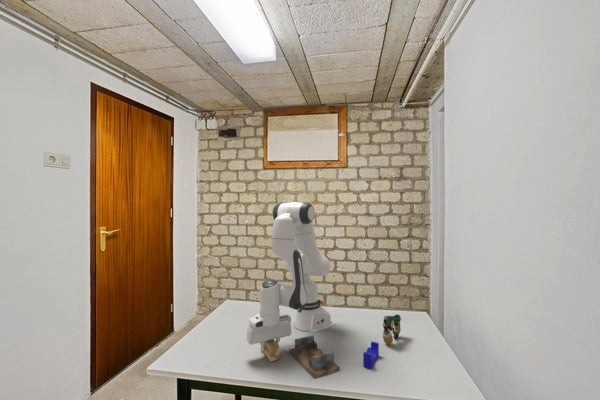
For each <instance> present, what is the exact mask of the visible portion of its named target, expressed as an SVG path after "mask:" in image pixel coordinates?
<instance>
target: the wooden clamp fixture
mask: <svg viewBox="0 0 600 400" xmlns="http://www.w3.org/2000/svg"><path fill="white" fill-rule="evenodd" d="M318 346H319V345H318V342H316V341H315V335H314V334H313V335H307V336H304V337H300V338H296V339H294V347H292V348H289V354H291V355H292V356H293V358H295V360H296V361H297V362H298V363H299V364H300V365H301V367H303V369H305V371H306V372H307V373H308V374H309V375H310V376H311V377H312V378H313V379H316V378H320V377H323V376H326V375H329V374H332V373H336V372H339V371H340V369H341V368H340V367H341V366H339V365H338V364H337V363H336V362H335V357H334V356H335V353H334V351H329V352H324V351H323V350H321V349H320V348H319V347H318Z"/></svg>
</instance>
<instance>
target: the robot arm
mask: <svg viewBox="0 0 600 400" xmlns="http://www.w3.org/2000/svg"><path fill="white" fill-rule="evenodd" d="M274 205H275V206H274V207H273V209H272V217H273V218H272V219H273V221H274V222H273V224H272V225H273V226H272V231H271V242H270V243H271V244H270V245H271V250H272V252H273V254H274V255H276V256H277V258H279V259H281V260H283V261H285V267H286V268H287V271H289V272H290V273H291V278H292V285H289V284H285V283H279V282H278V281H277V280H275V279H268V280H264V281H263V282H262V283H261V286H260V289H259V306H260V308H259V313H257V314H255V315H253V316H251V317H249V319H248V323H249V325H248V326H247V330H246V341H247V343H248V344H249V345H257V344H259V345H260V347H261V346H262V350H261V351H262V352H263V351H266V346H265V345H264V346H263V344H264V342H265V341H269V340H273V339H274V340H275V341H276V342H277V344H278V345H279V342H280V340H281V338H286V337H289V336H291V335H292V333H293V332H292V324H291V323H292V317H291V315H289V314H285V315H281V313H280V308H279V307H280V306H281V307H285V308H286V307H287V308H290V309H292V310H296V316H295V317H296V318H295V321H294V324H293V325H294V328H295V329H297V330H300V331H303V332H312V333H317V332H319V331H323V330H326V329H329V328H332V327H335V326H336V322H335V321H334V319H333V318H331V313H330V312H329V311H328V310H327V309H326V308H325V307H323V305H324V304H325V301H323V300H320V299H319V297H318V295H319V294H318V290H319V289H318V288H319V287H318V284H317V283H316V282H315V281H314V280H313V279H311V277H325V276H327V275H328V274H329V273H330V271H331V263H330V260H329V258H327V257H326V256H325V255H324V254H323V253H322V252H321V251H320V249H319V247H318V245H317V241H316V235H315V228H314V222H313V220H314V219H315V214H316V213H315V207H314V206H313V205H312V203H309V202H300V201H292V202H291V201H290V202H279V203H277V204H274ZM298 250H299V251H298Z"/></svg>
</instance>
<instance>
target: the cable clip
mask: <svg viewBox="0 0 600 400" xmlns="http://www.w3.org/2000/svg"><path fill="white" fill-rule="evenodd" d="M379 347H380V345H379V342H377V341H371V342H370V346H368V347H367V349H366V351H364V352H363V355H362V357H363V363H362V364H363V368H366V369H369V370H371V369H372V368H373V366H374V364H375V362H376V361H377V360H378V358H379V354H380V353H379V352H380V351H379Z"/></svg>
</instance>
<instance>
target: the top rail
mask: <svg viewBox="0 0 600 400" xmlns="http://www.w3.org/2000/svg"><path fill="white" fill-rule="evenodd" d="M264 345H265V346H266V351H262V346H261V345H260V351H262V352H263V353H264V354H263V355H265V356H266V358H267V359H268V361H269V362H274V361H279V360H280V345H279V343H278V344H277V342H276V339H273V340H269V341H265V342H264V344H263V346H264Z"/></svg>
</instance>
